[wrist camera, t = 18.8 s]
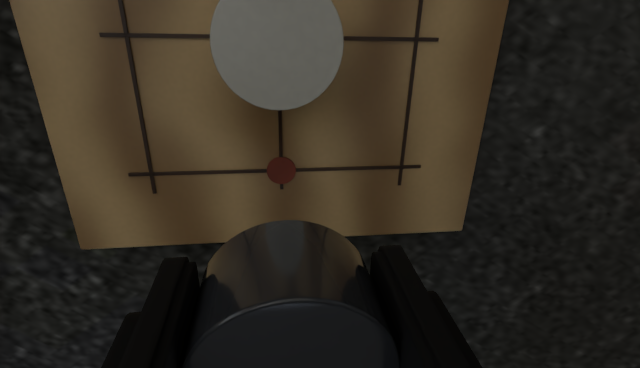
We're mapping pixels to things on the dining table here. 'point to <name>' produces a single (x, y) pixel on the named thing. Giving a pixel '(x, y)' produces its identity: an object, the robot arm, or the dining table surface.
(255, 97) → the white stone
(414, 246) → the dining table surface
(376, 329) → the hockey puck
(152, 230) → the board
